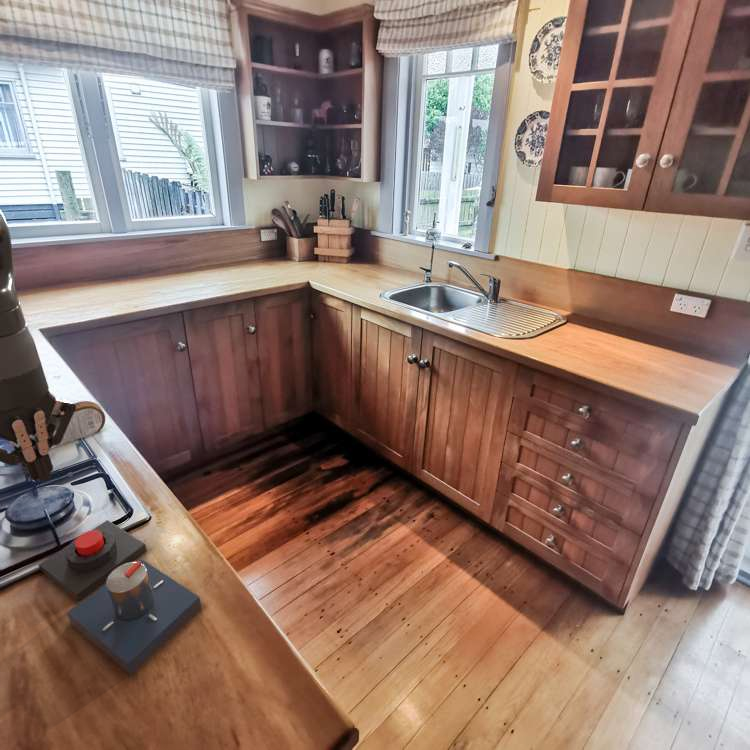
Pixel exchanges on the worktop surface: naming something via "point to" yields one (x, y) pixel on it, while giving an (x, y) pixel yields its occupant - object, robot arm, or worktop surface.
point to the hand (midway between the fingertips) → (41, 477)
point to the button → (89, 543)
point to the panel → (136, 620)
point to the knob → (130, 590)
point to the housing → (92, 561)
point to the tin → (84, 422)
